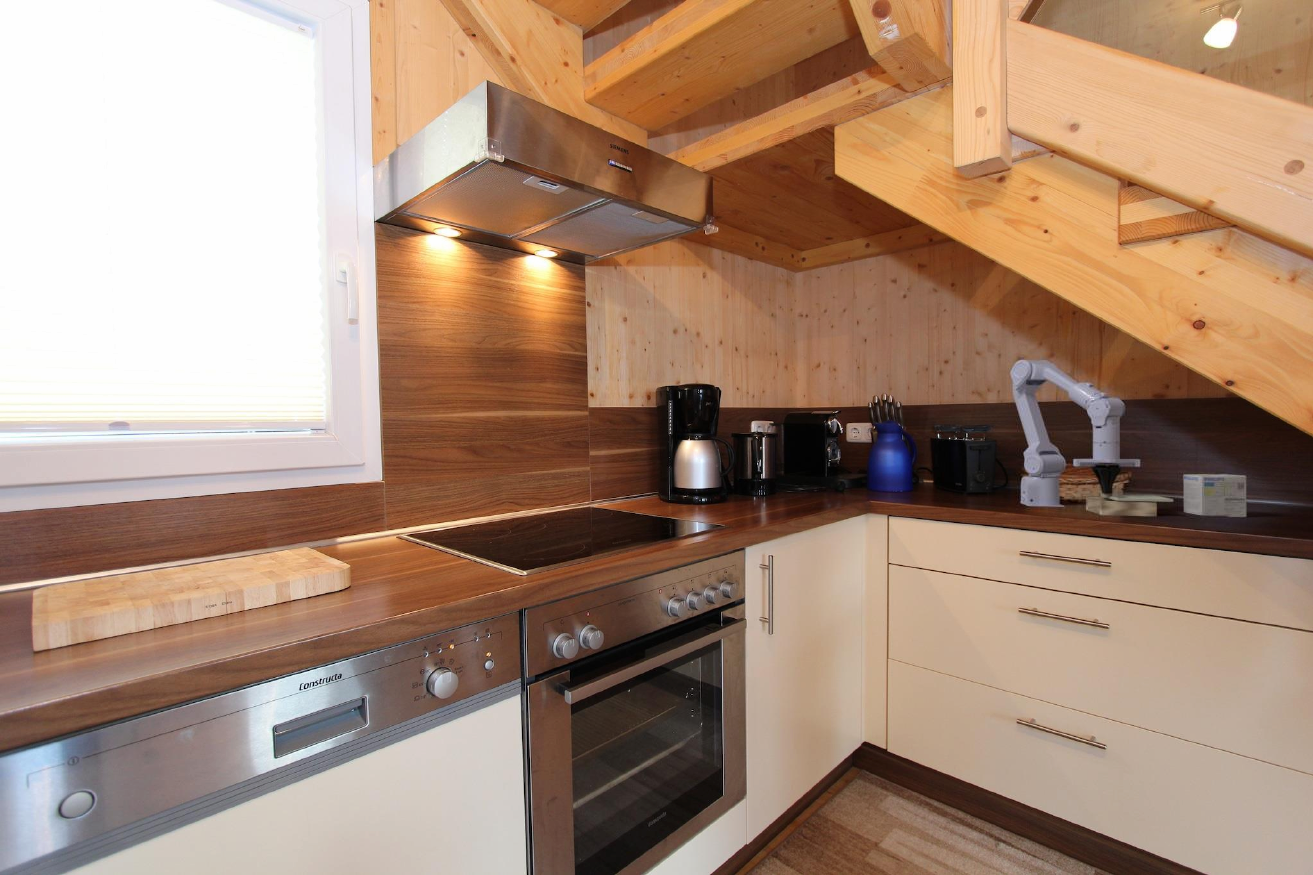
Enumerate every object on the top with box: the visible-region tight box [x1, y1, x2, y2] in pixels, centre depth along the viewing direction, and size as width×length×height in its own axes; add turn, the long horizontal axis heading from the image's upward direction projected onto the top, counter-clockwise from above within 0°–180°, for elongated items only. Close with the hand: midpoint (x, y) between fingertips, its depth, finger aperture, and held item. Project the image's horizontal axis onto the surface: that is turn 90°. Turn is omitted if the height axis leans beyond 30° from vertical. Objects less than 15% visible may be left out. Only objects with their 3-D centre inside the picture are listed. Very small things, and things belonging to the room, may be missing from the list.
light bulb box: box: [1182, 473, 1247, 518], centre depth 154 cm, size 11×7×11 cm, turn 84°
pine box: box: [1085, 496, 1158, 517], centre depth 158 cm, size 12×10×4 cm
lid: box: [1100, 487, 1174, 503], centre depth 157 cm, size 12×10×3 cm
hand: (1106, 493), depth 158 cm, fingers closed
